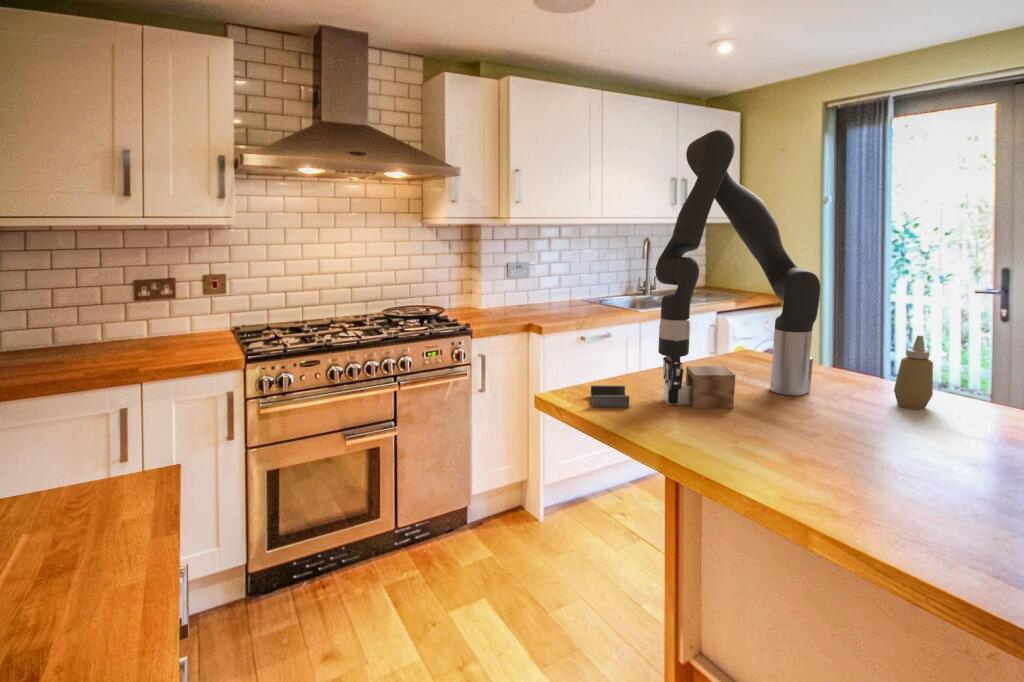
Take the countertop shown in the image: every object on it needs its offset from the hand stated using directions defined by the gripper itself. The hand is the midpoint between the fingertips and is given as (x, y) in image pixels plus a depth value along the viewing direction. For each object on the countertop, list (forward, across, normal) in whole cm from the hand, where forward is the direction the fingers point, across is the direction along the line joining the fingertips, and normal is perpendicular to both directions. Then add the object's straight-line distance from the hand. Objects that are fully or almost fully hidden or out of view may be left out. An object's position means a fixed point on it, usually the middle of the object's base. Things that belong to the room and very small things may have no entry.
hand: (671, 400), depth 158 cm
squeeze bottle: (+1, +2, +59) cm, 59 cm away
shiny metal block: (+1, 0, +4) cm, 4 cm away
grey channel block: (+1, 0, -16) cm, 16 cm away
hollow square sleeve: (+1, 0, +10) cm, 10 cm away
